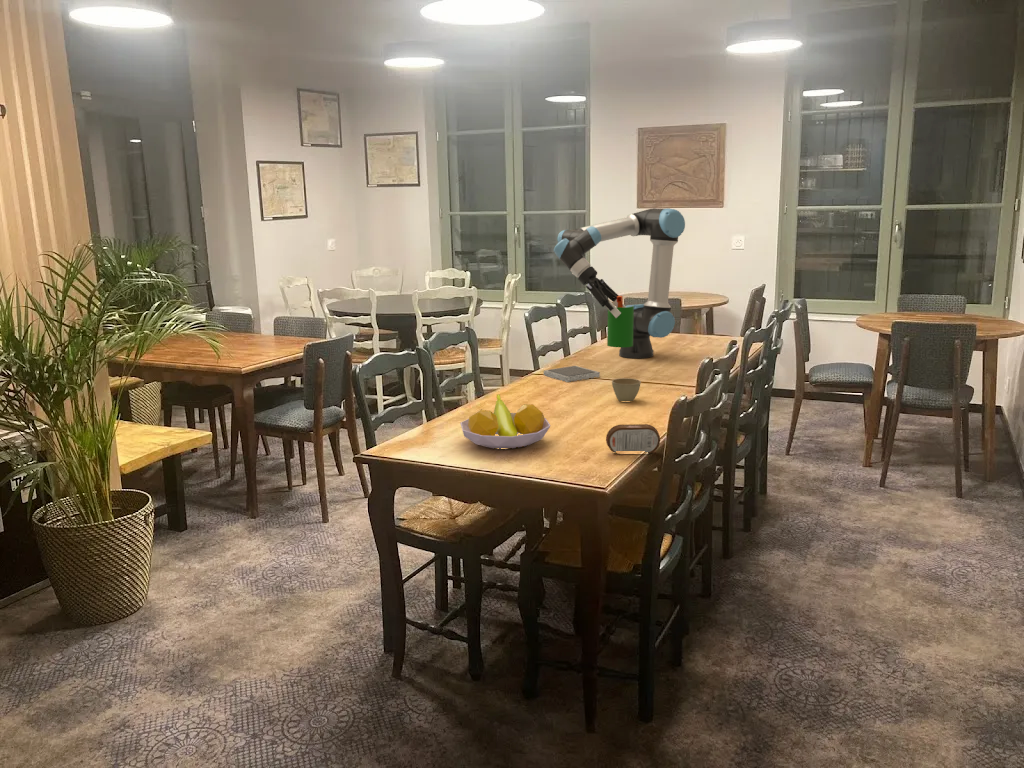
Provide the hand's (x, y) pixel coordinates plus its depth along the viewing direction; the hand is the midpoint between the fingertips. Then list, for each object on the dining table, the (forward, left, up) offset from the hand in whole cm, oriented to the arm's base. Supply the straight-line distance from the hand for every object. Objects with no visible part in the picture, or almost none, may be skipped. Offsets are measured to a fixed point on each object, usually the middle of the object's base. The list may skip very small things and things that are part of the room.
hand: (622, 314), depth 329 cm
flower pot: (+25, +32, -25) cm, 48 cm away
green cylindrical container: (0, -1, -13) cm, 13 cm away
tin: (+64, +80, -25) cm, 105 cm away
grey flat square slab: (+16, -12, -25) cm, 32 cm away
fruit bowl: (+86, +49, -25) cm, 103 cm away
